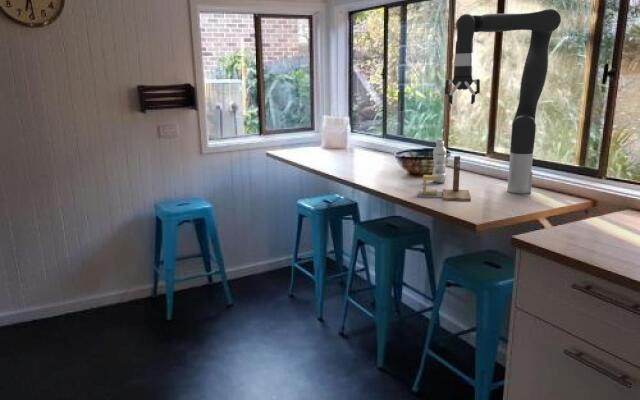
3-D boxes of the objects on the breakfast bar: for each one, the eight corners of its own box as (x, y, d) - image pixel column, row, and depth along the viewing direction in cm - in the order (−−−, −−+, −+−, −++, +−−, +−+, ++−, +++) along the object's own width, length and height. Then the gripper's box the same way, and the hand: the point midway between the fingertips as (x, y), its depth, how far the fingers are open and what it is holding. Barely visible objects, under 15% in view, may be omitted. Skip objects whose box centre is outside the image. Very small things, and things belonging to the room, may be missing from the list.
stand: (468, 192, 222) (470, 156, 218) (470, 201, 208) (472, 162, 204) (442, 191, 224) (444, 155, 220) (443, 200, 210) (444, 162, 206)
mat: (441, 192, 223) (441, 191, 223) (441, 198, 214) (441, 197, 214) (418, 191, 225) (418, 190, 225) (417, 197, 216) (417, 196, 216)
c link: (437, 193, 221) (437, 175, 219) (437, 195, 217) (437, 177, 215) (423, 192, 222) (423, 174, 220) (422, 194, 218) (423, 176, 216)
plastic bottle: (436, 184, 238) (437, 142, 233) (429, 181, 245) (430, 140, 240) (448, 183, 240) (450, 141, 235) (441, 180, 246) (442, 139, 241)
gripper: (480, 64, 214) (478, 103, 218) (445, 65, 217) (444, 103, 221) (481, 64, 207) (479, 104, 211) (446, 65, 210) (444, 105, 214)
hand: (461, 104), depth 216 cm, fingers open, 8 cm apart
